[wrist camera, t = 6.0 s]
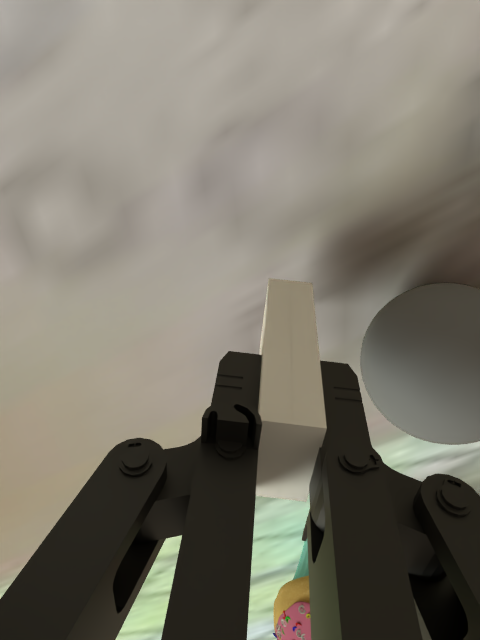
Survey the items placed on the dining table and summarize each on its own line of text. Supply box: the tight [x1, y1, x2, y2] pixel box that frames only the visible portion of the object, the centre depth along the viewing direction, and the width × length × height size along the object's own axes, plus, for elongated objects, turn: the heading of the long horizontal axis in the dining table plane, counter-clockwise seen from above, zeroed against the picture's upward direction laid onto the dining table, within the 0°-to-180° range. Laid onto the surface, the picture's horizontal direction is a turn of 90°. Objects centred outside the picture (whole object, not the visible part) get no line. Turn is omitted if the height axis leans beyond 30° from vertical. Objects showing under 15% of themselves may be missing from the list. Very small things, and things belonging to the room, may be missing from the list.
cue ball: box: [360, 283, 480, 445], centre depth 15 cm, size 6×6×6 cm
